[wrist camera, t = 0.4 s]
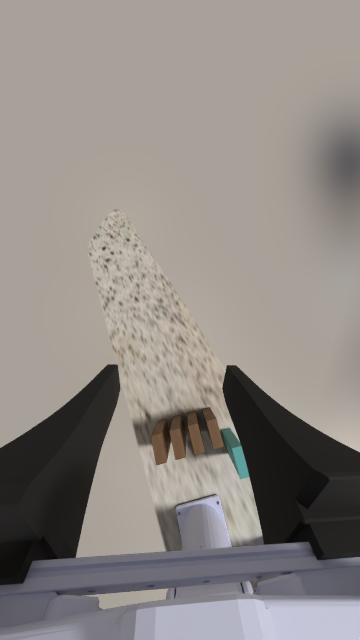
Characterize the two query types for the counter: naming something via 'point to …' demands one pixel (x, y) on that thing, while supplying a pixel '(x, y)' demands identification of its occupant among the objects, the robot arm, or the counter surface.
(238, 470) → the domino
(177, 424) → the domino
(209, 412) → the domino
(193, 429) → the domino
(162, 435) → the domino
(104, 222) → the counter surface
